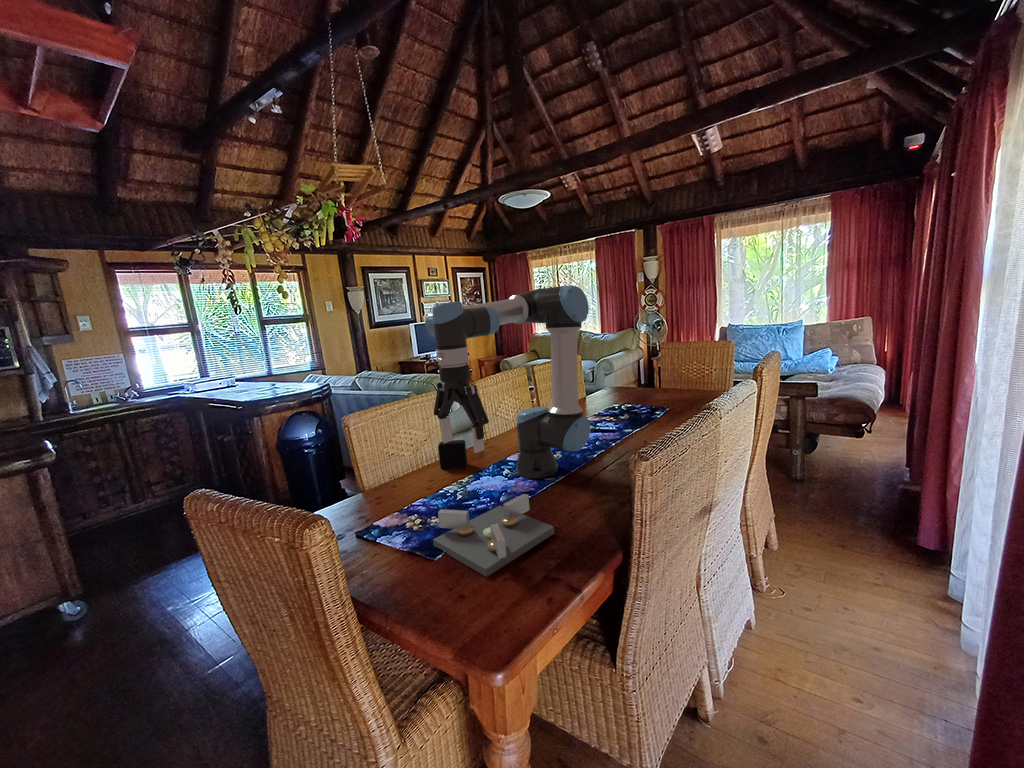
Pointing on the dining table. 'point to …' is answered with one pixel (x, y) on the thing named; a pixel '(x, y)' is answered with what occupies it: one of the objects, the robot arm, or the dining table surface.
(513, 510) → the knob
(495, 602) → the dining table surface
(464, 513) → the knob
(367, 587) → the dining table surface
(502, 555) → the knob
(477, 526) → the base plate
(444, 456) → the electronic device
